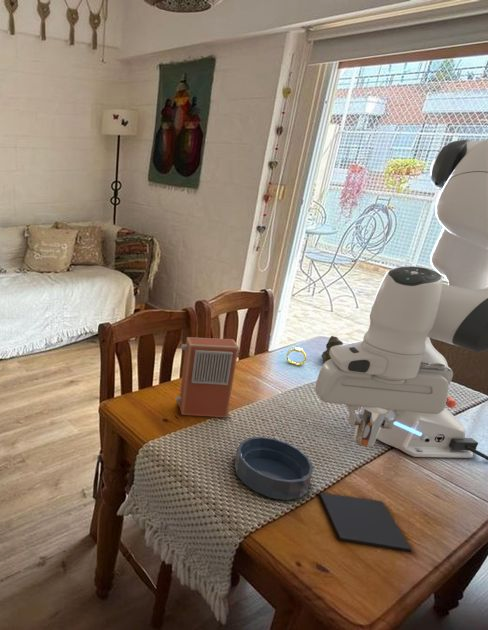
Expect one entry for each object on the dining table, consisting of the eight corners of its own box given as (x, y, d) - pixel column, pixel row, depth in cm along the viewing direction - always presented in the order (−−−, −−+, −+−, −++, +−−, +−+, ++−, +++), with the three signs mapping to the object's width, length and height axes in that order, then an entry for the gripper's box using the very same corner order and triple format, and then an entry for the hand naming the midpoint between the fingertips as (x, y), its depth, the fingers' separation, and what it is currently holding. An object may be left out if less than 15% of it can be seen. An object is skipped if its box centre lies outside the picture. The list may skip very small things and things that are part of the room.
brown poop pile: (353, 342, 156) (321, 336, 159) (363, 335, 145) (329, 330, 148) (349, 373, 154) (317, 367, 157) (359, 368, 143) (324, 362, 147)
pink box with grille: (174, 403, 128) (226, 406, 126) (177, 416, 121) (232, 420, 120) (181, 335, 120) (237, 338, 119) (185, 345, 114) (244, 349, 112)
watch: (284, 363, 153) (288, 348, 151) (285, 360, 155) (288, 345, 153) (304, 367, 150) (307, 352, 148) (304, 364, 152) (308, 349, 150)
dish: (297, 459, 105) (301, 441, 103) (317, 506, 91) (322, 486, 89) (230, 450, 108) (233, 433, 106) (240, 494, 94) (244, 475, 92)
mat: (381, 503, 92) (381, 501, 92) (410, 551, 81) (411, 549, 81) (319, 494, 94) (319, 492, 94) (339, 540, 83) (340, 537, 83)
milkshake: (383, 454, 80) (397, 407, 77) (349, 444, 83) (361, 398, 80) (382, 440, 84) (396, 395, 80) (350, 431, 87) (361, 387, 83)
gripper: (445, 357, 78) (422, 422, 83) (321, 346, 82) (306, 409, 87) (467, 373, 73) (441, 442, 77) (332, 361, 76) (316, 427, 81)
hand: (368, 425), depth 82 cm, fingers closed on milkshake, 4 cm apart
